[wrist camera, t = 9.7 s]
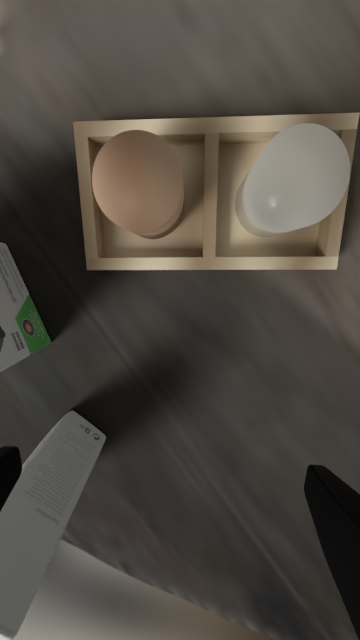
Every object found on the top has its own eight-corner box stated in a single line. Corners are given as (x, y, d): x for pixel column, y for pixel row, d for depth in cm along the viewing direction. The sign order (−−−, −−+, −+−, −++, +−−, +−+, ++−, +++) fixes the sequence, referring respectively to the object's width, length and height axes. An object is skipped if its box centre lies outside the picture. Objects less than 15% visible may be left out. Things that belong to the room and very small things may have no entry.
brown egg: (184, 169, 16) (184, 130, 11) (183, 239, 17) (182, 232, 12) (118, 168, 16) (88, 129, 11) (121, 238, 17) (95, 230, 12)
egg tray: (338, 130, 16) (359, 112, 14) (320, 268, 18) (336, 269, 16) (87, 138, 16) (72, 121, 14) (98, 269, 18) (86, 270, 16)
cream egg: (306, 164, 16) (358, 122, 11) (298, 237, 17) (341, 228, 12) (236, 165, 16) (257, 124, 11) (233, 237, 17) (249, 228, 12)
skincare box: (70, 406, 21) (-77, 584, 10) (111, 436, 22) (18, 639, 10) (33, 449, 23) (-136, 652, 11) (72, 476, 23) (-49, 698, 12)
